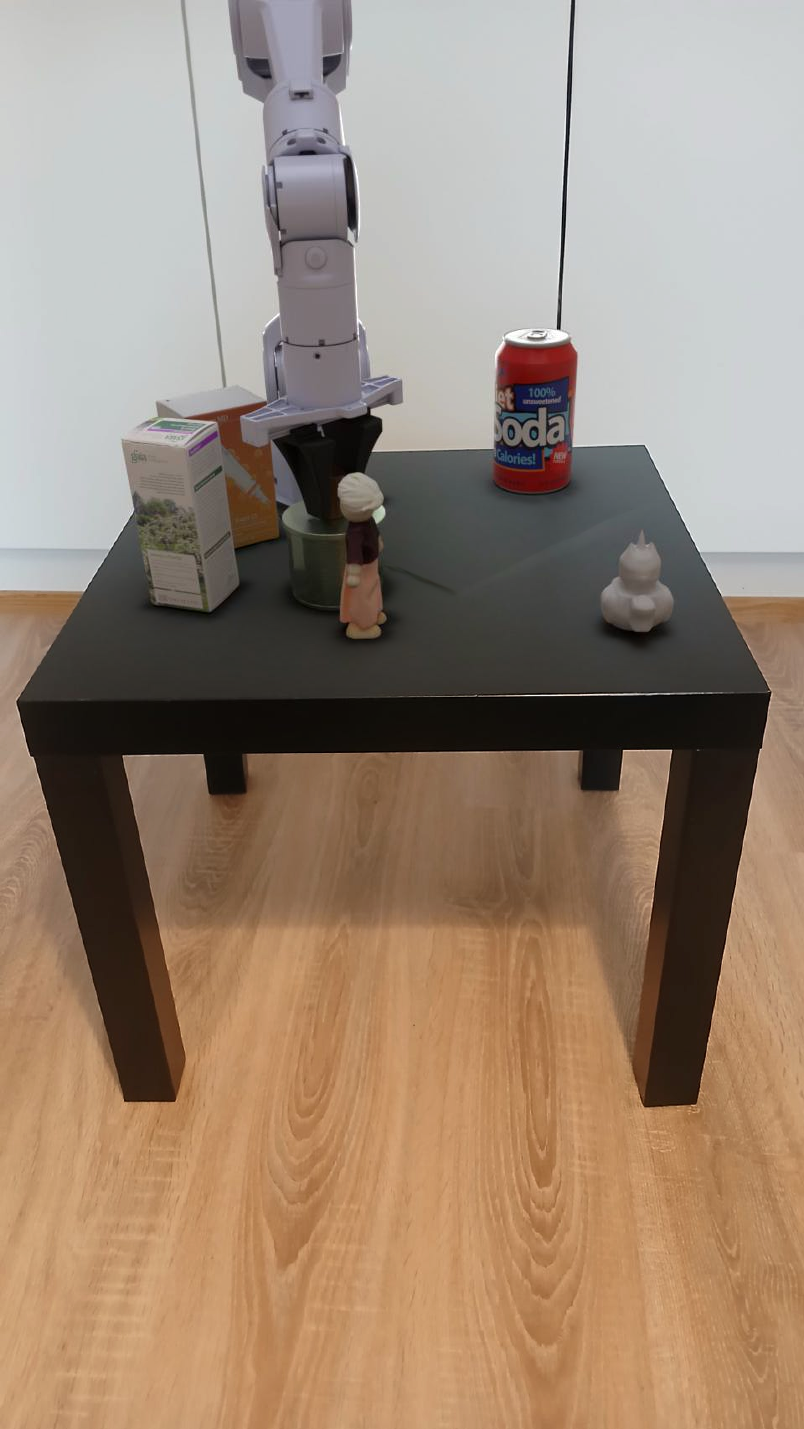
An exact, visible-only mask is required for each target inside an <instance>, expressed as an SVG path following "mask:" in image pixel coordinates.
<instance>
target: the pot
mask: <svg viewBox="0 0 804 1429" xmlns="http://www.w3.org/2000/svg"><path fill="white" fill-rule="evenodd" d="M381 528H382V527H380V528H378V529H379V531H380V537H381V538H382V531H381V530H382V529H381ZM285 532H286V534H285V535H286V543H287V544H286V545H287V554H288V563H289V574H290V585H291V592H292V596H293V597H294V599H295V600H296V602H298V603H299V604H300V605H302V606H304V607H307V608H309V609H314V610H318V611H326V612H328V611H329V612H340V603H341V592H342V586H343V580H344V572H345V567H346V563H347V550H346V541H345V540H333V541H323V540H311V539H306V538H302V537H298V536H295V535H293V534H291V533H289V532H288V531H287V530H286V529H285ZM382 552H383V550H382V551H381V552H379V555H378V575H379V579H380V588H381V594H382V592H383V588H384V587H383V583H384V578H383V574H384V573H383V555H382Z"/></svg>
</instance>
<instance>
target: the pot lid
mask: <svg viewBox="0 0 804 1429" xmlns="http://www.w3.org/2000/svg"><path fill="white" fill-rule="evenodd" d="M344 477H346V471H345V470H344V469H341V468H334V467H331V469H330V501H331V509H330V517H329V518H327V519H325V520H321V519H318V518H316V517H313V516H311V515H309V514H307V510H306V507H305V504H304V501H300V502H298V503H295V504H293V505H292V506H288V507H287V508H286V509H285V510H284V511H283V513H282V515H281V522H282V523H281V524H282V527H283V528H284V529H285V531H286V530H287V531H288V532H289V533H291V534H293V535H295V536H298V537H302V538H306V539H311V540H323V541H333V540H345V535H346V531H347V528H348V524H349V521H350V520H348V519H346V518H345V516H344V515H343V514H342V512H341V508H340V498H339V497H338V484H339V483H340V482H341V480H342V479H343V478H344ZM386 514H387V513H386V509H385V507H384V506H383V504H382V505H381V506H380V508H378V509H377V510H374V512H373V514H372V516H373V518H374V519H375V522H376V524H377V527H378V528H382V526H383V525H384V524H385V521H386V520H387V519H386V517H387V516H386Z"/></svg>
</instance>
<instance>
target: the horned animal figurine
mask: <svg viewBox="0 0 804 1429" xmlns="http://www.w3.org/2000/svg"><path fill="white" fill-rule="evenodd" d="M661 566H662V560H661V557H660V556H659V554H658V551H657V549H656V546H655V544H654V542H653V541H651V542H650V543H648V544H646V539H645V535H644V531H643V529H641V531H640V532H639V536H638V540H637V542H636V544H634V542H630V543H629V545H628V546H627V547H626V549H625V551H623V552H622V553H621V555H620V556H619V560H618V572H617V573H618V576H617V577H614V578H613V579H612V580H611V583H610V584H609V585H608V586H606V587H605V588H604V589H603V590H602V592H601V594H600V610H601V614H602V617H603V618H604V620H605V622H607V623H608V624H612V625H613V626H614V627H616V628H618V629H621V630H624V631H633V632H635V633H647V632H648V633H649V631H651V629H653V628H654V627H656V626H657V625H659V624H661V623H667V621H668V620H669V619H670V618H671V616H672V613H673V609H674V606H675V600H674V597H673V595H672V592H671V590H670V589H669V587H668V586H666V585H664V584H663V583H661V582H660V580H659V578H660V575H661V568H662V567H661Z"/></svg>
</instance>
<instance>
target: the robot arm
mask: <svg viewBox="0 0 804 1429" xmlns="http://www.w3.org/2000/svg"><path fill="white" fill-rule="evenodd" d="M227 5H228V15H229V27H230V35H231V44H232V51H233V55H235V63H236V69H237V70H236V71H237V79H238V81H240V82H241V87H242V92H243V94H244V95H247V96H248V97H250V98H253V99H255V100H256V101H258V102H260V103H261V104H263V107H262V124H263V135H264V149H265V159H266V160H265V162H266V167H265V165H262V166H261V173H260V174H261V175H260V177H261V192H262V201H263V212H264V222H265V231H266V237H267V239H268V243H269V247H270V251H271V258H272V266H273V272H274V276H276V277H277V281H276V291H277V301H278V313H277V314H276V315H275V316H274V317H273V318H272V319H271V320H269V322H268V323H267V324H266V325H265V326H264V331H263V333H262V336H261V337H262V347H263V350H262V363H263V365H262V366H263V376H264V384H265V385H264V387H265V396H266V401H267V405H266V406H265V407H263V408H261V409H259V410H257V411H254V412H252V413H249V414H246V415H243V416H240V422H241V431H242V440H243V442H245V443H247V444H250V445H253V446H256V447H262V446H265V445H268V444H269V440H271V450H272V461H273V472H274V482H275V493H276V502H279V503H281V504H284V505H285V506H288V507H290V506H292V505H293V504H295V503H298V502H300V501H304V504H305V507H306V510H307V514H309V515H311V516H313V517H316V518H318V519H321V520H325V519H327V518H329V517H330V509H331V501H330V469H331V467H334V468H341V469H344V470H345V471H346V476H347V475H348V474H352V473H358V472H359V473H362V474H364V475H365V473H366V470H367V466H368V463H369V460H370V457H371V455H372V452H373V450H374V448H375V446H376V444H377V442H378V440H379V438H380V437H381V435H382V433H383V430H384V429H383V426H384V425H383V419H382V418H381V417H379V416H376V415H373V414H372V411H371V410H373V409H377V408H380V407H383V406H386V405H390V406H397V405H400V404H403V403H404V394H403V393H404V392H403V390H404V389H403V379H402V378H400V377H395V376H392V375H388V374H384V375H380V376H374V377H371V364H370V354H369V347H368V344H367V334H366V329H365V328H366V327H364V326H363V322H362V321H361V320H360V319H359V313H358V310H359V309H358V291H357V289H358V288H357V274H356V273H357V272H356V251H355V250H356V249H355V246H354V244H353V243H352V242H351V241H350V240H349V239H348V238H349V231H350V232H351V233H352V234H353V240H354V242H355V244H358V243H359V242H358V241H359V235H360V230H361V201H360V200H361V199H360V186H359V176H358V170H357V166H356V163H355V162H356V161H355V159H354V156H353V152H352V150H351V148H350V145H349V144H347V145H346V142H345V135H344V126H343V120H342V111H341V106H340V102H339V100H338V98H337V96H338V95H340V94H341V93H343V92H344V91H346V90H347V88H348V78H349V77H350V75H351V51H352V50H353V10H352V9H353V8H352V0H227ZM266 173H267V174H266Z"/></svg>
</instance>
